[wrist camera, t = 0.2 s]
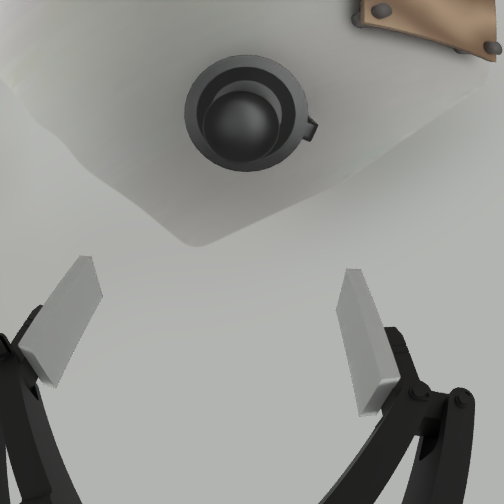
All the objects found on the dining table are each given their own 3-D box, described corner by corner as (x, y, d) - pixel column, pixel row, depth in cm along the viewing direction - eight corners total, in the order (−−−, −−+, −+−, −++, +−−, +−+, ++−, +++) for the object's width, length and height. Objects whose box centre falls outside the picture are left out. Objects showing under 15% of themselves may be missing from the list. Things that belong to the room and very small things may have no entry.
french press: (198, 117, 37) (128, 174, 18) (224, 49, 32) (176, 20, 13) (285, 149, 39) (310, 238, 20) (315, 83, 34) (381, 101, 15)
